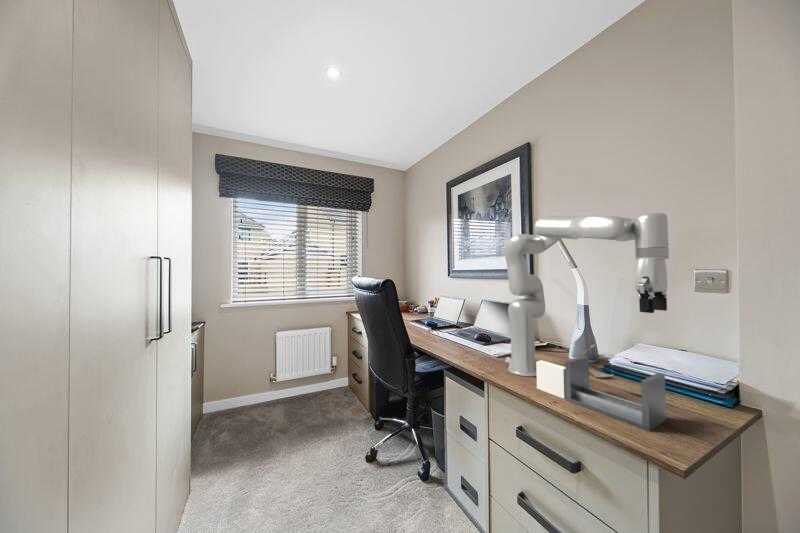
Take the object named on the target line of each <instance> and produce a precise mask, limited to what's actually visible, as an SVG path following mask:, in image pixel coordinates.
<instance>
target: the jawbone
mask: <svg viewBox="0 0 800 533" xmlns="http://www.w3.org/2000/svg"><path fill="white" fill-rule="evenodd" d="M594 347H595V348H596V347H597V344H596V343H593V344H590V346H589V348H587V349H586V350H585V351H584V352H581V357H582V356H587V357H588V358H589V355H590V352H591V350H593V349H594ZM589 374H591V375H593V377H594V378H614V377H615V374H614V373H611V374H608V373H604V372H602V371H599V370H597V369H596V368H593V367H592V366H591V365H589Z"/></svg>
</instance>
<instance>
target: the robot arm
mask: <svg viewBox="0 0 800 533" xmlns="http://www.w3.org/2000/svg"><path fill="white" fill-rule="evenodd" d="M533 229H534V232H535V234H528V233H527V234H526V233H518V234H515V235H513V236H511V237H510V238H509V239H508V240H507V241H506V244H505V246H504V257H505V263H506V270H507V278H508V279H507V281H508V288H509V292H510V293H511V294H512V295H513V296H517V297H523V296H524V298H519V299H514V300H513V301H511V302H510V303H509V304H508V308H507V312H508V313H507V314H508V318H509V323H510V324H509V325H510V351H511V352H510V353H511V354H510V355H511V356H510V357H509V356H507V357H505V359H504V362H505V363H507V364H509V365H508V366H507V371H508V372H509V373H511V374H513V375H517V376H521V377H535V376H536V377H537V368H536V346H535V344H536V342H535V341H536V340H535V329H534V325H533V323H532V320H538V319H541V318H542V317H543V316H544V315H545V313H546V300H545V291H544V284H543V282H542V280H541V279H540V277H538V276H537V275H535V274H532V273H531V274H530V273H529V268H528V267H529V266H528V261H527V260H526V258H525V257H524V255H525V254H526V255H540V254H543V253H544V252H545V251H547V250H548V249H550V248H551V247H552V246H554V245H555V244H556V243H558V242H559V241H560V240H561V239H567V240H577V239H595V240H596V239H597V240H609V241H617V242H630V241H633V240H634V248H635V249H634V250H635V260H636V265H635V278H634V279H635V282H634V283H635V286H634V287H635V291H637V292H638V301H639V312H640V313H646V314H654V313H655V311H664V312H665V311H666V312H667V310H668V302H667V301H668V298H667V296H668V294H667V289H668V273H667V264H666V263H667V262H666V260H669V259H670V253H669V252H670V251H669V222H668V215H667V214H665V212H649V213H644V214H640V215H637V216H636V217H635V218H631V217H630V218H628V217H623V216H618V215H617V216H616V215H582V216H581V215H571V216H570V215H565V216H563V215H560V216H559V215H558V216H557V215H555V216H553V215H549V216H548V215H547V216H542V217H540V218H538V219H537V220H536V221H535V223H534V225H533Z"/></svg>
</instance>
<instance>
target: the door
mask: <svg viewBox="0 0 800 533" xmlns="http://www.w3.org/2000/svg"><path fill="white" fill-rule="evenodd" d="M535 368H537V376H536V389H537V390H539V389H540V391H543V392H545V393H548V394H551V395H554V396H556V397H559V398H562V399H563V400H564V399H565V400H566V368H565V366H563V365H560V364H556V363H554V362H549V361H546V360H542V359H541V360H538V361H535Z"/></svg>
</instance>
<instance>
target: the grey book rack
mask: <svg viewBox="0 0 800 533" xmlns="http://www.w3.org/2000/svg"><path fill="white" fill-rule="evenodd" d="M564 365H565V366H564V367H565V368H566V398H565V400H566V401H568V402H571V403H573V404H577V405H579V406H581V407H583V408H586V409H589V410H592V411H594V412H597V413H600V414H602V415H605V416H608V417H610V418H613V419H616V420H619V421H621V422H623V423H626V424H629V425H630V426H631V425H632V426H634V427H637V428H640V429H643V430H645V431H648V432H650V431H652V430H654V429H655V428H656V427H657V426H659V425H660V424H662V423H663V422H665V421H666V420H667V403H666V378H665V377H666V376H665V373H661V372H657V373H655V374H653V375H650V376H648V377H647V378H644V379H641V380H640V391H641V392H640V393H641V404H640V403H637V402H634V401H630V400H627V399H625V398H621V397H618V396H615V395H612V394H609V393H606V392H603V391H600V390H597V389H593V388H590V373H589V366H590V363H589V356H588V357H587V356H582V355H581V356H578V357H575V358H572V359H569V360H565V363H564Z"/></svg>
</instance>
